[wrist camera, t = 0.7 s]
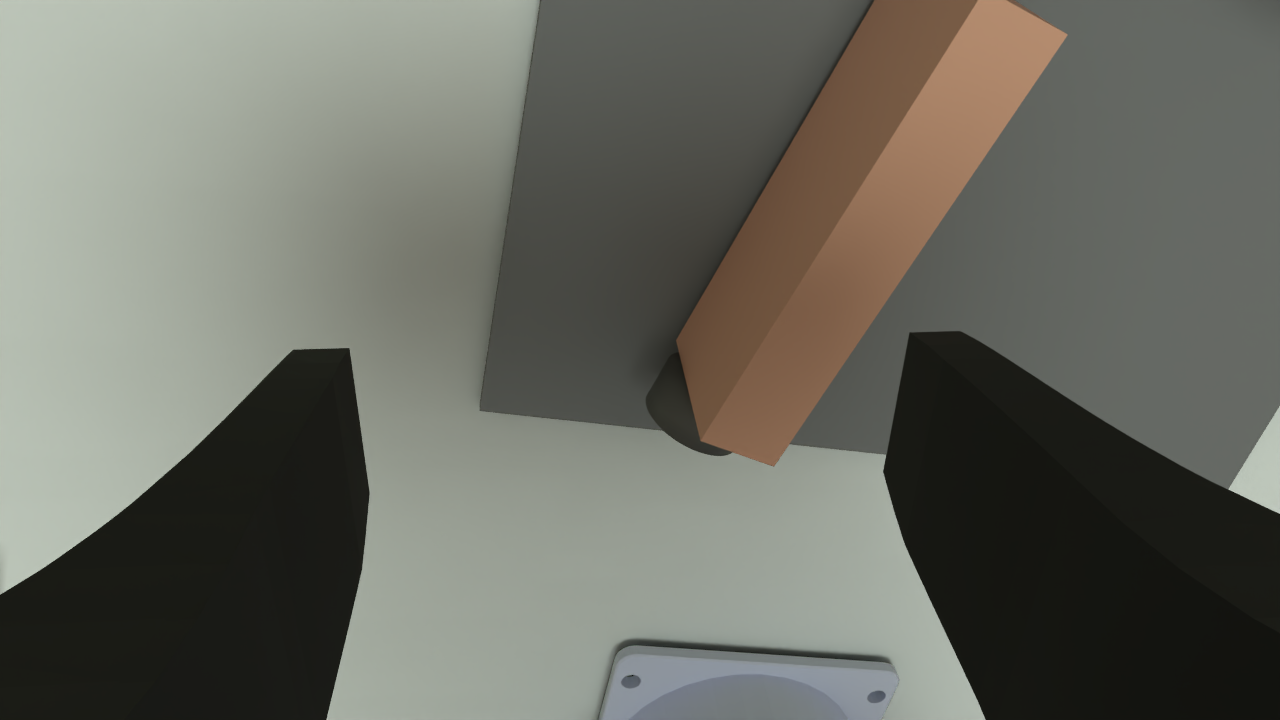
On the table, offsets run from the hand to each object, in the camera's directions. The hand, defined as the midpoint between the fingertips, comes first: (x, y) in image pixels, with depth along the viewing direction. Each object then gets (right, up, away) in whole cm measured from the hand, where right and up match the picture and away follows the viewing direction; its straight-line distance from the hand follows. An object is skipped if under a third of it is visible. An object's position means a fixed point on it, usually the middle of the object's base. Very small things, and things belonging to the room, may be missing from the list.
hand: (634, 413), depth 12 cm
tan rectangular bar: (+3, +4, +9) cm, 10 cm away
